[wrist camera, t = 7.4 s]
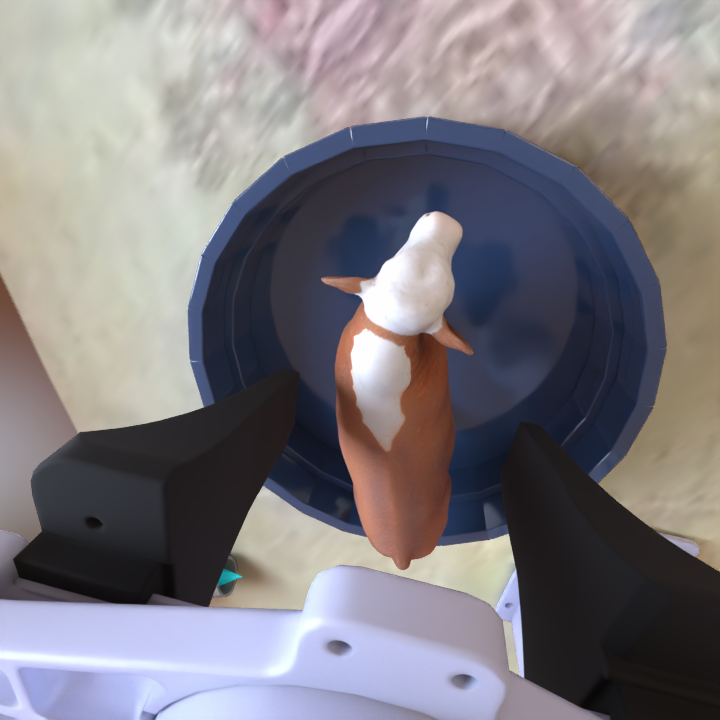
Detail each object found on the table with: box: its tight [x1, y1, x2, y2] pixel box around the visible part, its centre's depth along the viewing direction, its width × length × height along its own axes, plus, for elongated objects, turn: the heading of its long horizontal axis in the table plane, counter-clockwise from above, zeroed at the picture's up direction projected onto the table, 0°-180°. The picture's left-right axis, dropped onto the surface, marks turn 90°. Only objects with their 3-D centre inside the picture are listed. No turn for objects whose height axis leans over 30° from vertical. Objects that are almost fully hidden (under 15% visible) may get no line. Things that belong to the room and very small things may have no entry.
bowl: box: [188, 117, 667, 546], centre depth 18 cm, size 17×17×4 cm
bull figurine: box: [321, 211, 474, 570], centre depth 16 cm, size 4×13×8 cm, turn 0°
